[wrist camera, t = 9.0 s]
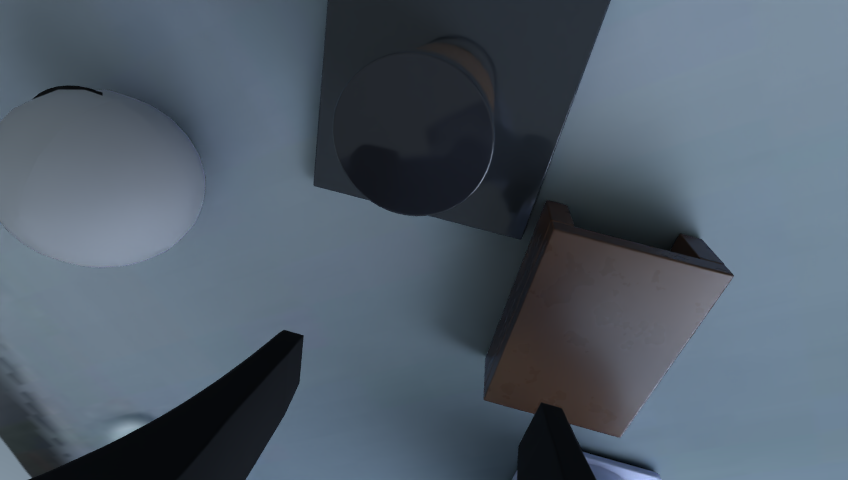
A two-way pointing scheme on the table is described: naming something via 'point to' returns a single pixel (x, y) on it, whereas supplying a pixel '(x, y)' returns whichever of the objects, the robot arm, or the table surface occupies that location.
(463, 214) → the slate pad
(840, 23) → the table surface
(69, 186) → the white ovoid
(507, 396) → the shelf
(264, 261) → the table surface
